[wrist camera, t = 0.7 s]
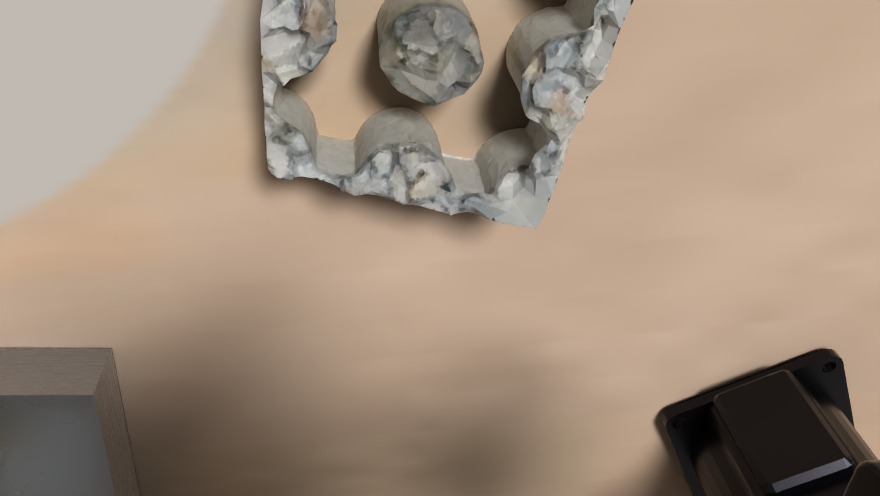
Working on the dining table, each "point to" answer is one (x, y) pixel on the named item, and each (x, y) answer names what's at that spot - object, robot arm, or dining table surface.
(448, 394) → the dining table surface
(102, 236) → the dining table surface
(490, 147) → the egg carton
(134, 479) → the grey flat block
